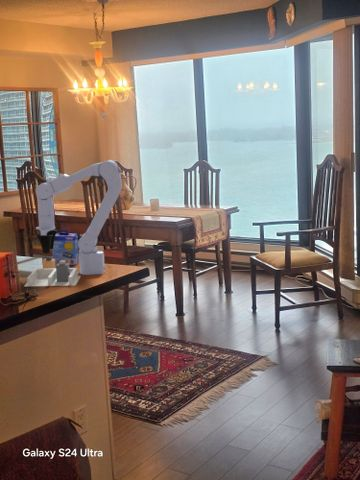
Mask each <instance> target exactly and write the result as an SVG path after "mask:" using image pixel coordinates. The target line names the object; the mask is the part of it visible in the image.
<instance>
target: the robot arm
mask: <svg viewBox="0 0 360 480" xmlns="http://www.w3.org/2000/svg"><path fill="white" fill-rule="evenodd" d="M121 174H122V173H121V168H120V167H119V165H118V163H117V162H116V161H115V160H112V159H107V160H105V161H102V162H97V163H94V164H91V165H88V166H87V167H85V168H82V169H80V170H78V171H77V172H74V173H73V174H70V175H68V174H66V173H63V174H62V173H59V174H58V175H57V176H56V177H54V178H52V179H49V178H48V179H46V180H45V181H46V182H42V183H40V184H39V185H37V186H36V189H35V195H36V197H37V214H38V215H37V216H38V217H37V218H38V226H36V227H35V230H39V232H40V233H39V234H37V235H36V238H37V239H38V241H39V243H40V246H41V250H42V253H43V254H50V253H51V250H52V249H53V246H54V239H55V235H56V234H58V229H56V225H55V224H56V222H55V209H54V206H55V205H54V201H53V196H54V195H57V194H61V193H63V192H65V191H67V190H69V189H71V188H72V186H73V183H74V184H75V183H77V182H79V181H81V180H84V179H86V178H89V177H92V176H93V177H100V176H101V177H102V178H103V179H104V181H105V183H106V185H107V191H106V192H105V195H104V197H103V198H102V200H101V203H100V205H99V206H98V209H97V210H96V212H95V215H94V217H93V218H92V220H91V222H90V224H89V226H88V227H87V229H86V231H85V232H84V233H83V234H82V236H81V237H80V238H79V239H78V254H79V263H78V265H79V274H80V275H84V276H85V275H87V276H90V275H104V273H105V271H106V266H105V252H104V251H103V250H99V248H98V247H97V246H96V245H97V244H98V237H99V234H100V232H101V231H102V228H103V226H104V225H105V223H106V221H107V219H108V218H109V215H110V213H111V212H112V209H113V207H114V205H115V203H116V201H117V200H118V198H119V196H120V194H121V192H122V190H123V183H122V176H121Z"/></svg>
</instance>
